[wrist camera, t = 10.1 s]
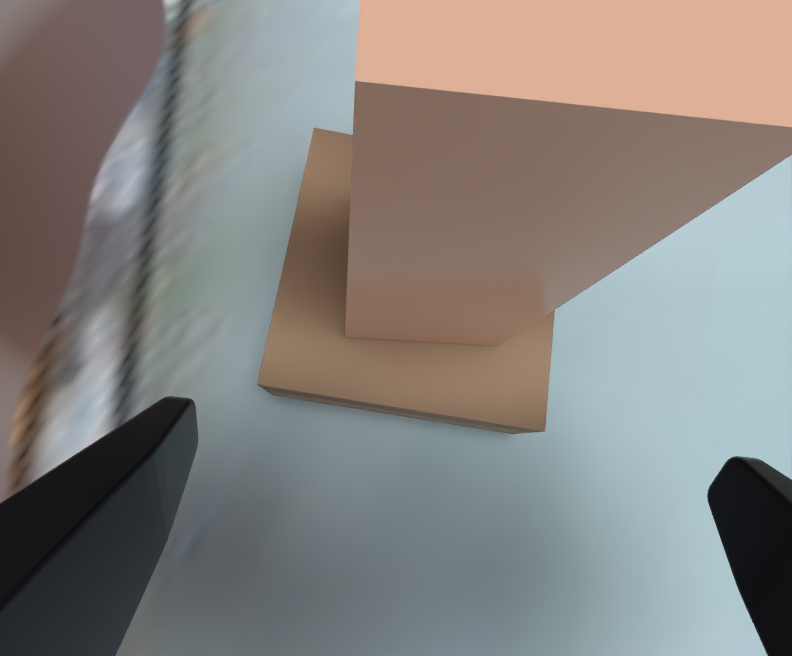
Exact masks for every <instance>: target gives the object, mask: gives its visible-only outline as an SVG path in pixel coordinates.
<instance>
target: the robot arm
mask: <svg viewBox="0 0 792 656" xmlns="http://www.w3.org/2000/svg"><path fill="white" fill-rule="evenodd" d="M197 446H198V428H197V418H196V407H195V403H194V401H193V400H192V399H190V398H182V397H172V396H169V397H165V398H163V399H161V400H159V401H158V402H156V403H155V404H153V405H152V406H150V407H149V408H147V409H145V410H144V411H142V412H141V413H139V414H138V415H136V416H135V417H133V418H132V419H130V420H128V421H127V422H125V423H124V424H122V425H121V426H119V427H118V428H116V429H114V430H113V431H111V432H110V433H108V434H107V435H105V436H104V437H102V438H100V439H99V440H97V441H96V442H94V443H93V444H91V445H90V446H88V447H86V448H85V449H83V450H82V451H80V452H79V453H77V454H76V455H74V456H72V457H71V458H69V459H68V460H66V461H65V462H63V463H62V464H60V465H58V466H57V467H55V468H54V469H52V470H51V471H49V472H48V473H46V474H45V475H43V476H41V477H40V478H38V479H37V480H35V481H34V482H32V483H31V484H29V485H27V486H26V487H24V488H23V489H21V490H20V491H18V492H17V493H15V494H13V495H12V496H10V497H9V498H7V499H6V500H4V501H3V502H1V503H0V656H116V654H117V651H118V649H119V647H120V645H121V642H122V640H123V638H124V636H125V634H126V631H127V629H128V627H129V625H130V623H131V620H132V618H133V616H134V614H135V611H136V609H137V607H138V605H139V603H140V600H141V598H142V596H143V594H144V592H145V589H146V587H147V585H148V583H149V580H150V578H151V576H152V574H153V572H154V569H155V567H156V565H157V563H158V561H159V558H160V556H161V554H162V551H163V549H164V547H165V544H166V542H167V539H168V537H169V534H170V531H171V528H172V525H173V522H174V519H175V516H176V513H177V509H178V506H179V503H180V500H181V497H182V494H183V491H184V488H185V485H186V482H187V478H188V475H189V472H190V469H191V466H192V463H193V460H194V457H195V454H196V450H197ZM707 497H708V503H709V506H710V509H711V512H712V515H713V518H714V521H715V524H716V527H717V529H718V532H719V535H720V538H721V541H722V544H723V547H724V550H725V553H726V556H727V559H728V562H729V564H730V567H731V570H732V573H733V576H734V579H735V581H736V584H737V587H738V590H739V592H740V594H741V597H742V599H743V601H744V604H745V606H746V608H747V611H748V613H749V615H750V617H751V619H752V622H753V624H754V626H755V628H756V631H757V633H758V635H759V637H760V640H761V642H762V644H763V646H764V648H765V651H766V653H767V655H768V656H792V480H791V479H790V478H788V477H786V476H785V475H783V474H782V473H780V472H779V471H777V470H776V469H774V468H773V467H771V466H769V465H768V464H766V463H765V462H763V461H761V460H759V459H756V458H749V457H739V456H735V457H732V458H730V459H728V460H727V462H726V463H725V464H724V466H723V467H722V469H721V470H720V472H719V473H718V475H717V476H716V478H715V479H714V481H713V482H712V484H711V485H710V487H709V489H708V496H707Z"/></svg>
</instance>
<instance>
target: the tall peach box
mask: <svg viewBox="0 0 792 656" xmlns="http://www.w3.org/2000/svg"><path fill="white" fill-rule="evenodd" d="M790 155H792V0H360V13H359V29H358V45H357V61H356V76H355V99H354V123H353V148H352V173H351V198H350V223H349V248H348V272H347V297H346V322H345V337H347V338H365V339H382V340H400V341H418V342H435V343H453V344H470V345H488V346H500V345H502V344H503V343H505V342H506V341H508V340H509V339H511V338H513V337H514V336H516V335H517V334H519V333H520V332H522V331H523V330H525V329H526V328H528V327H529V326H531V325H532V324H534V323H535V322H537V321H538V320H540V319H542V318H543V317H545V316H546V315H548V314H549V313H551V312H552V311H554V310H555V309H557V308H558V307H560V306H561V305H563V304H564V303H566V302H567V301H569V300H571V299H572V298H574V297H575V296H577V295H578V294H580V293H581V292H583V291H584V290H586V289H587V288H589V287H590V286H592V285H593V284H595V283H597V282H598V281H600V280H601V279H603V278H604V277H606V276H607V275H609V274H610V273H612V272H613V271H615V270H616V269H618V268H619V267H621V266H622V265H624V264H626V263H627V262H629V261H630V260H632V259H633V258H635V257H636V256H638V255H639V254H641V253H642V252H644V251H645V250H647V249H648V248H650V247H651V246H653V245H655V244H656V243H658V242H659V241H661V240H662V239H664V238H665V237H667V236H668V235H670V234H671V233H673V232H674V231H676V230H677V229H679V228H681V227H682V226H684V225H685V224H687V223H688V222H690V221H691V220H693V219H694V218H696V217H697V216H699V215H700V214H702V213H703V212H705V211H706V210H708V209H710V208H711V207H713V206H714V205H716V204H717V203H719V202H720V201H722V200H723V199H725V198H726V197H728V196H729V195H731V194H732V193H734V192H735V191H737V190H739V189H740V188H742V187H743V186H745V185H746V184H748V183H749V182H751V181H752V180H754V179H755V178H757V177H758V176H760V175H761V174H763V173H764V172H766V171H768V170H769V169H771V168H772V167H774V166H775V165H777V164H778V163H780V162H781V161H783V160H784V159H786V158H787V157H789V156H790Z"/></svg>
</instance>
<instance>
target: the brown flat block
mask: <svg viewBox="0 0 792 656" xmlns="http://www.w3.org/2000/svg"><path fill="white" fill-rule="evenodd" d="M352 148H353V135H349V134H343V133H338V132H333V131H328V130H323V129H318V128H314V130H313V135H312V140H311V144H310V149H309V153H308V158H307V162H306V167H305V171H304V176H303V180H302V185H301V189H300V194H299V198H298V203H297V207H296V212H295V216H294V221H293V225H292V230H291V234H290V239H289V243H288V248H287V252H286V257H285V261H284V266H283V271H282V275H281V280H280V284H279V289H278V293H277V298H276V302H275V307H274V311H273V316H272V320H271V325H270V329H269V334H268V338H267V343H266V347H265V352H264V356H263V361H262V365H261V370H260V374H259V379H258V383H257V385H259V386H260V387H262V388H263V389H265V390H266V391H268V392H269V393H271V394H272V395H277V396H283V397H289V398H295V399H301V400H308V401H314V402H320V403H326V404H332V405H338V406H344V407H351V408H357V409H363V410H369V411H375V412H381V413H387V414H394V415H400V416H406V417H412V418H418V419H424V420H430V421H437V422H443V423H449V424H455V425H461V426H467V427H473V428H480V429H486V430H492V431H498V432H504V433H510V434H517V433H530V432H544V431H545V424H546V412H547V399H548V387H549V374H550V362H551V349H552V337H553V324H554V312H555V310H554V311H552V312H551V313H549V314H548V315H546V316H545V317H543V318H542V319H540V320H538V321H537V322H535V323H534V324H532V325H531V326H529V327H528V328H526V329H525V330H523V331H522V332H520V333H519V334H517V335H516V336H514V337H513V338H511V339H509V340H508V341H506V342H505V343H503V344H502V345H500V346H488V345H470V344H453V343H435V342H418V341H400V340H382V339H365V338H347V337H345V322H346V297H347V272H348V248H349V223H350V198H351V173H352Z"/></svg>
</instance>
